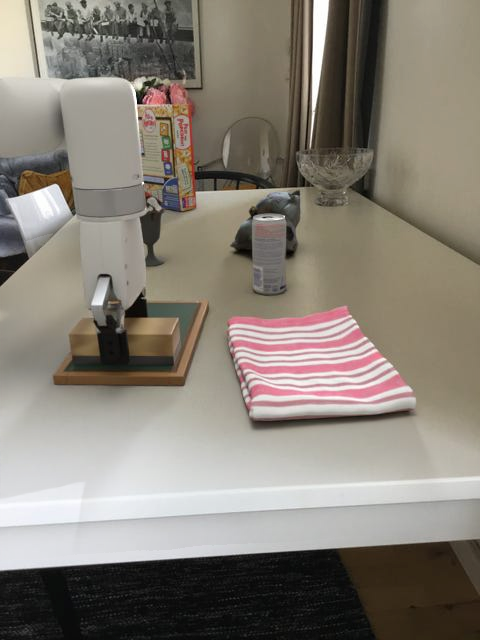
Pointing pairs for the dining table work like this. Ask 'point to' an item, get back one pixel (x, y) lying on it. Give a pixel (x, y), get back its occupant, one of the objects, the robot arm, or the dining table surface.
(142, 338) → the eraser
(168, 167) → the board game
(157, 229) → the sundae
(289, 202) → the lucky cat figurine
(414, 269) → the dining table surface
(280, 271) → the energy drink
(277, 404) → the dish towel
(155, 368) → the chalkboard
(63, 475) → the dining table surface
